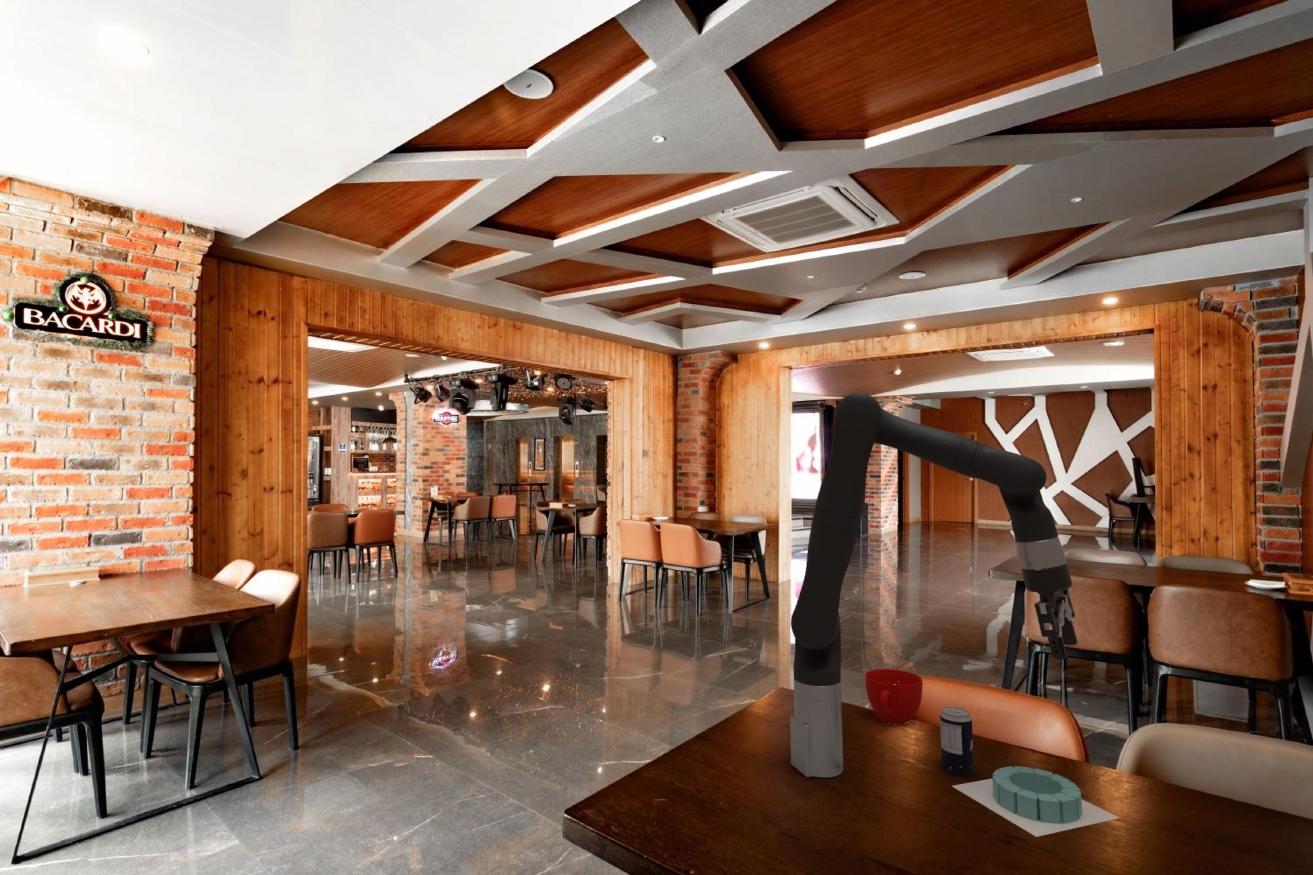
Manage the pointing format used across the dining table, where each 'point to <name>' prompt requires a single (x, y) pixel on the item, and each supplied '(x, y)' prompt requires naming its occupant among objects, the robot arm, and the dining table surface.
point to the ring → (1037, 794)
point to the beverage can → (956, 741)
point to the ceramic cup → (894, 694)
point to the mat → (984, 795)
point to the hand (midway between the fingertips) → (1065, 651)
